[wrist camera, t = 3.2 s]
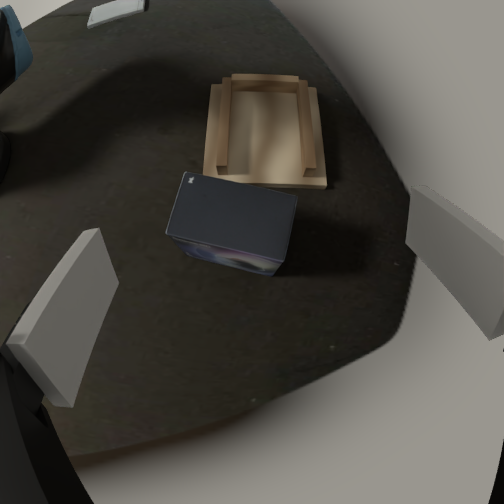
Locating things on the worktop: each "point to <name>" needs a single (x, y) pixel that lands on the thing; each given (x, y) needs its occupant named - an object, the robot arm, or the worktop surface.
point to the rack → (265, 132)
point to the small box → (232, 223)
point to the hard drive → (115, 11)
